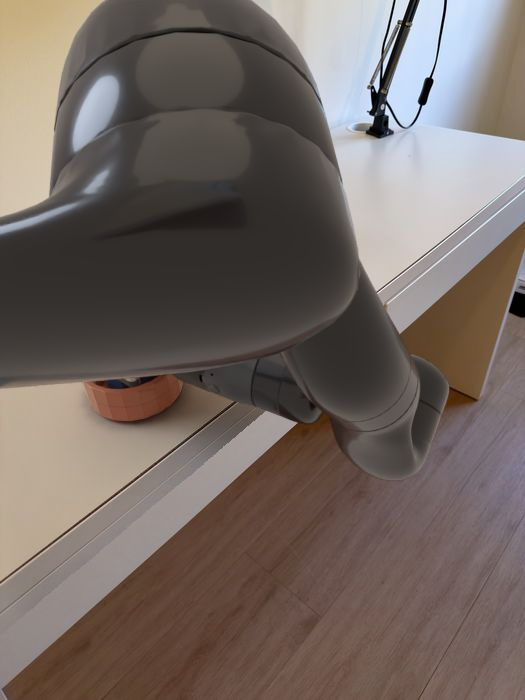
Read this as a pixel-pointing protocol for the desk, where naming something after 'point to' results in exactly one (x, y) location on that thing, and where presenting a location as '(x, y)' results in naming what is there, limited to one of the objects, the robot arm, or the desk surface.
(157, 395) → the bowl
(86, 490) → the desk surface
